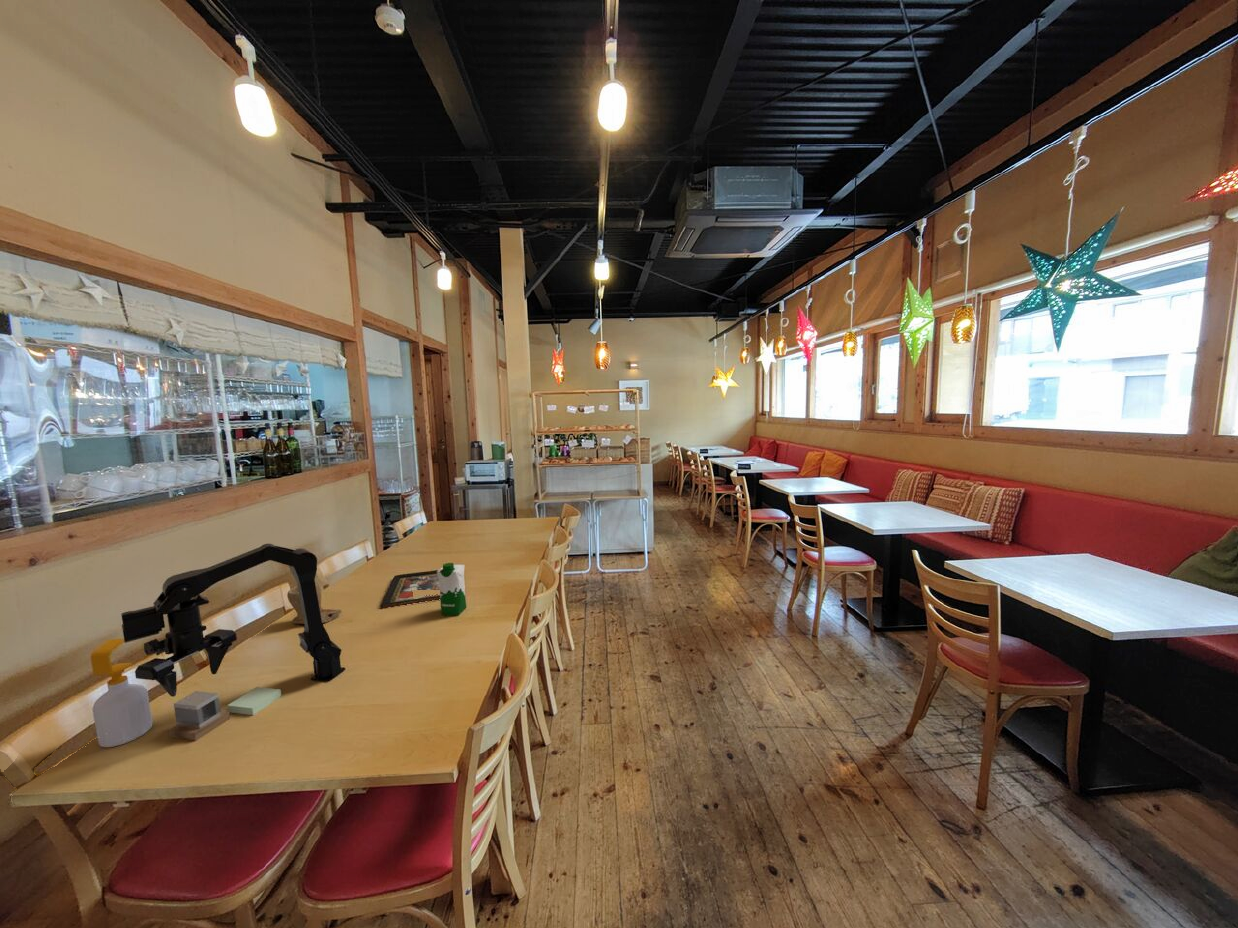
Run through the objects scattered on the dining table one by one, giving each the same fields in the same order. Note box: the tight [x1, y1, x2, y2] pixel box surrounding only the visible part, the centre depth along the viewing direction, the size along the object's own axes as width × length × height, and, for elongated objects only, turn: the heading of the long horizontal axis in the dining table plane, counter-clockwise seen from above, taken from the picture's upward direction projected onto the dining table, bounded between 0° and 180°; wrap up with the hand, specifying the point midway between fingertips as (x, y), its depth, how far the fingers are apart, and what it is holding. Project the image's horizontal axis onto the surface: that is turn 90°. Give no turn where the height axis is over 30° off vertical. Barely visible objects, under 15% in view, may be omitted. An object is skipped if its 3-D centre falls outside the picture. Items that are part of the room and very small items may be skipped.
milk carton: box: [437, 562, 467, 617], centre depth 175 cm, size 9×9×20 cm
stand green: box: [227, 686, 282, 716], centre depth 122 cm, size 8×8×2 cm
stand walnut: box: [168, 710, 231, 742], centre depth 113 cm, size 8×8×2 cm
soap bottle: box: [90, 638, 153, 748], centre depth 110 cm, size 9×9×25 cm
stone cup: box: [286, 582, 343, 625], centre depth 170 cm, size 15×12×15 cm
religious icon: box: [380, 569, 440, 610], centre depth 201 cm, size 38×35×3 cm
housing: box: [173, 690, 222, 729], centre depth 113 cm, size 7×5×6 cm
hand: (194, 684), depth 112 cm, fingers open, 9 cm apart
